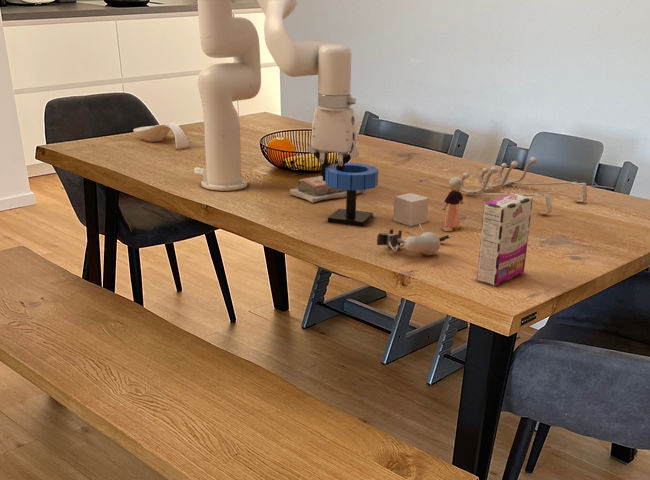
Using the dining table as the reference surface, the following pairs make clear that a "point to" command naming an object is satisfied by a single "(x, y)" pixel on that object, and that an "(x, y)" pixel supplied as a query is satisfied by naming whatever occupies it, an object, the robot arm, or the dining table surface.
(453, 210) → the grandmother figurine
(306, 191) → the packaged product
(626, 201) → the dining table surface
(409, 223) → the white cube
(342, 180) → the tape
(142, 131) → the spoon rest
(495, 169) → the over door rack
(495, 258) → the candy bar box
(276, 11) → the robot arm
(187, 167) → the dining table surface
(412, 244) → the clip-on lamp
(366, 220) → the peg stand
